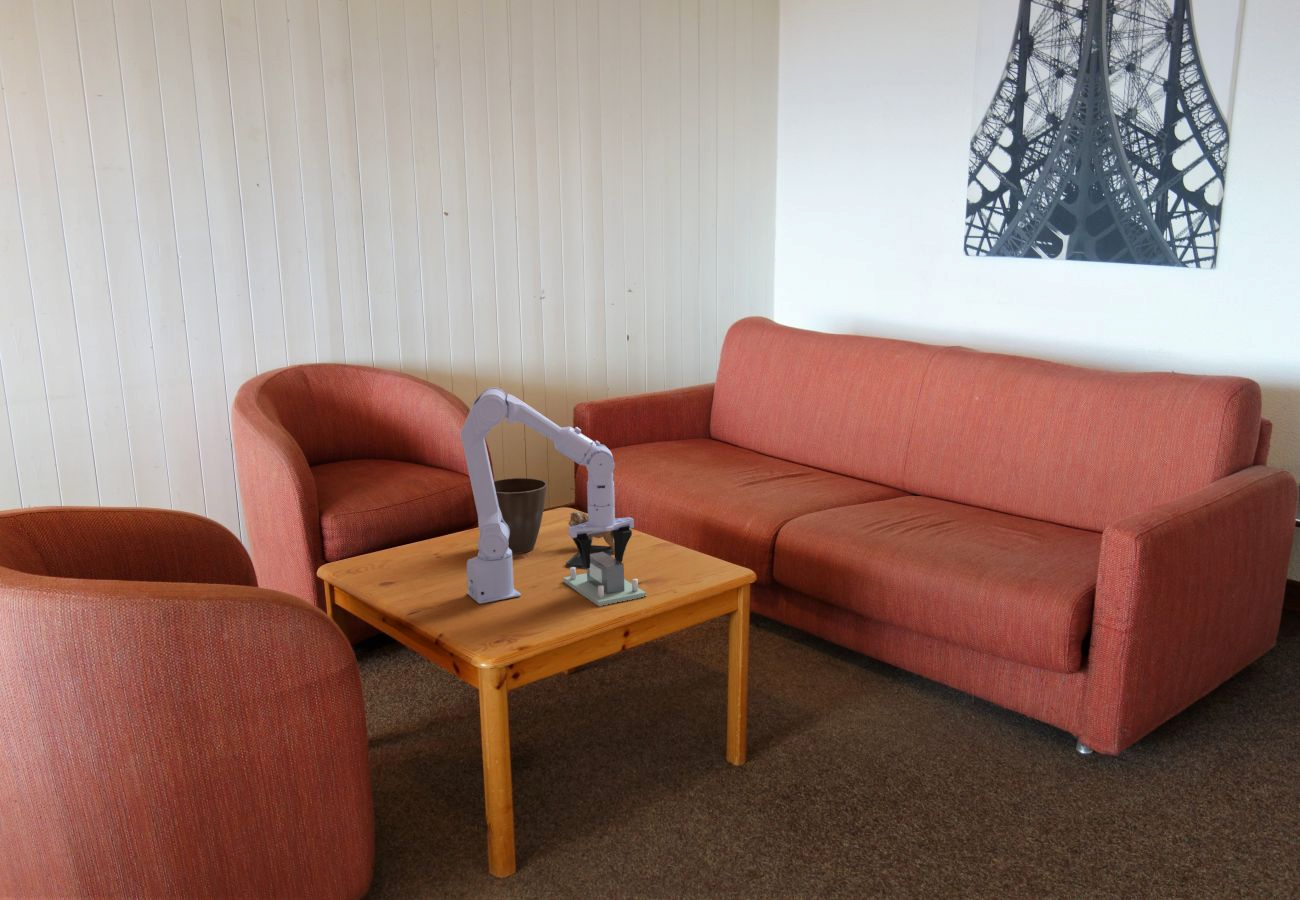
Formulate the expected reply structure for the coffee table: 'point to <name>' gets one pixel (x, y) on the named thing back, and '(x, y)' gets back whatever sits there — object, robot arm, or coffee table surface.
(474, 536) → the coffee table surface
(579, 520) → the lion figurine
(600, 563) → the block
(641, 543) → the coffee table surface
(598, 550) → the phone
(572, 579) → the pin tray
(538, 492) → the plant pot
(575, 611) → the coffee table surface
